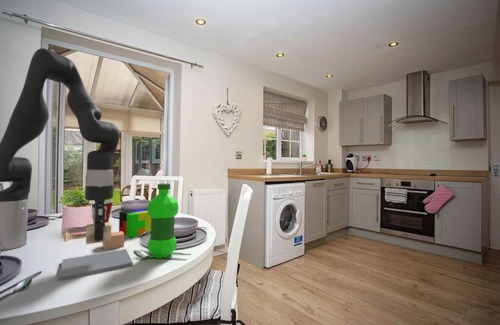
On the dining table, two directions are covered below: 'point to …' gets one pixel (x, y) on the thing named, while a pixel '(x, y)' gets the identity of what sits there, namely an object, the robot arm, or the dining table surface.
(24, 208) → the robot arm
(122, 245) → the terracotta block
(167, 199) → the plastic bottle
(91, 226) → the beech block
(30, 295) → the dining table surface
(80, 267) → the baseplate
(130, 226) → the puzzle toy
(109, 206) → the plastic cup
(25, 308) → the dining table surface
